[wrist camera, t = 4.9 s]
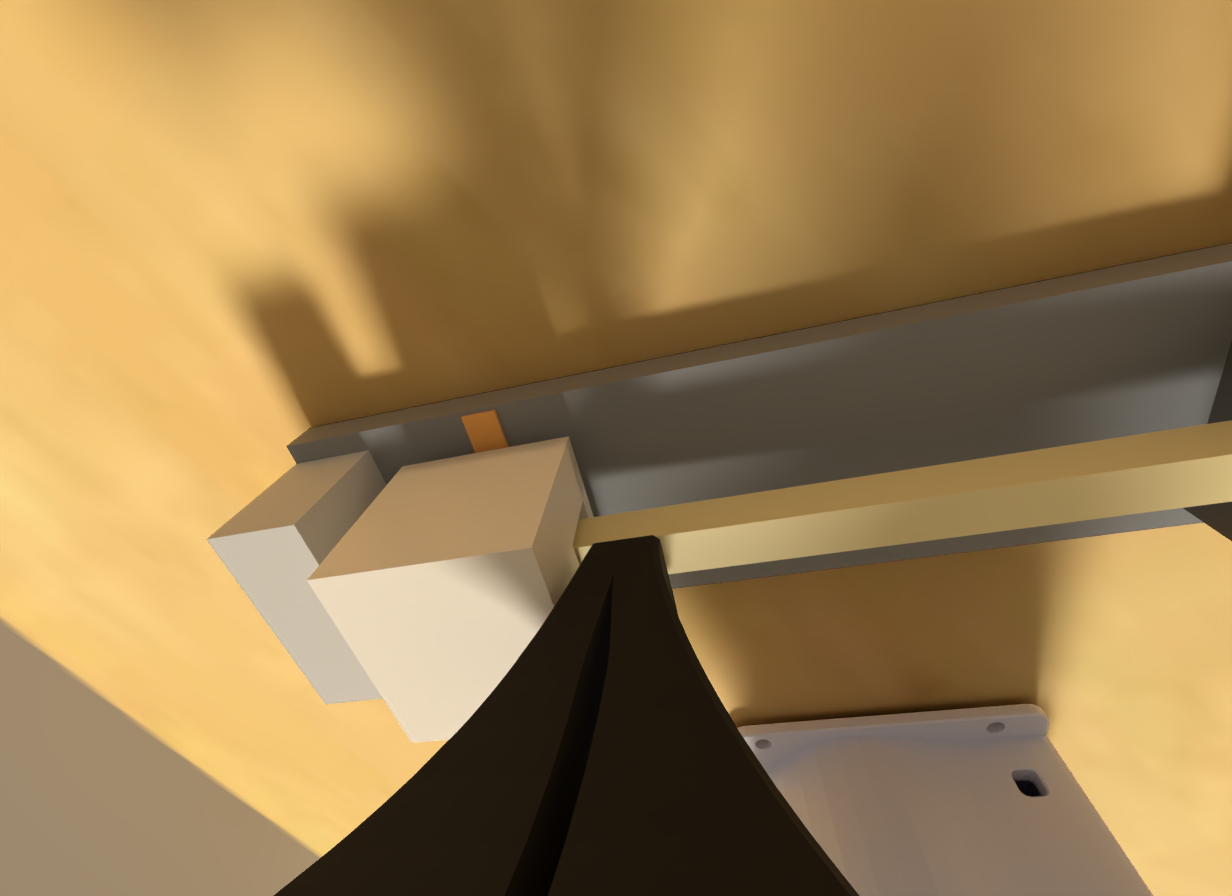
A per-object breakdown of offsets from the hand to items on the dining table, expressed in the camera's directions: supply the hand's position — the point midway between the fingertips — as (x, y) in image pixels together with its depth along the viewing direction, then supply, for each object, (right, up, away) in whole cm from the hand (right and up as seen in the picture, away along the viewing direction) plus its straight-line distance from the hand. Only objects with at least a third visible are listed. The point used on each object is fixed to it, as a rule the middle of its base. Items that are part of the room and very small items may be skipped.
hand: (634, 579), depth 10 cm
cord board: (+3, +2, +3) cm, 5 cm away
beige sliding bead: (-3, +1, +3) cm, 4 cm away
